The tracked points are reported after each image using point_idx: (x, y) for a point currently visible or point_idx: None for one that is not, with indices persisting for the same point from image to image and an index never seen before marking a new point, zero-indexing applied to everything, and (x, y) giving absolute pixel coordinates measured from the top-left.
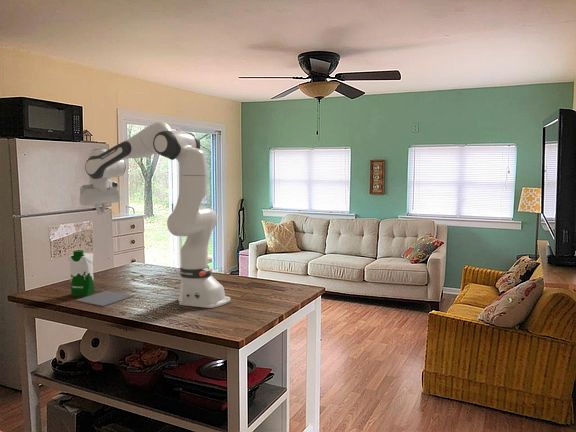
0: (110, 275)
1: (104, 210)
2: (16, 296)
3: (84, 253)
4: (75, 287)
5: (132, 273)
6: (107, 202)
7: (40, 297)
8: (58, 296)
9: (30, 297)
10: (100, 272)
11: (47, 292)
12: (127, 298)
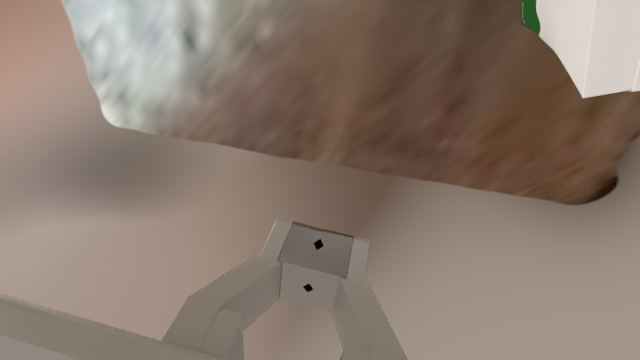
0: (266, 93)
1: (268, 245)
2: (590, 193)
3: (601, 41)
4: None
5: (203, 33)
6: (136, 353)
7: (610, 116)
8: None
9: (608, 147)
10: (254, 150)
11: (533, 139)
12: None
